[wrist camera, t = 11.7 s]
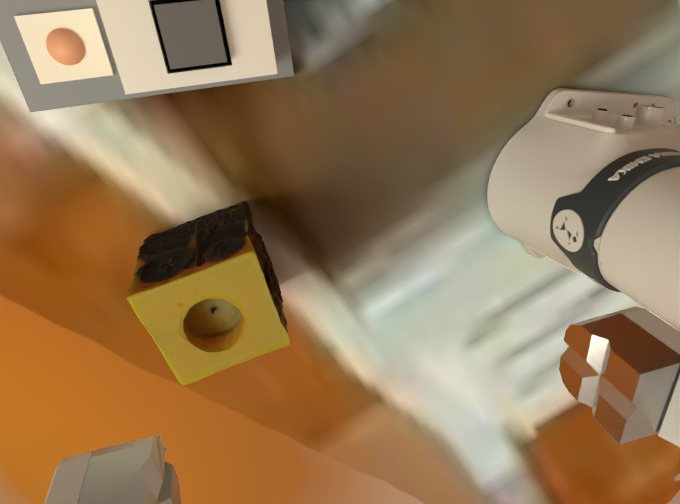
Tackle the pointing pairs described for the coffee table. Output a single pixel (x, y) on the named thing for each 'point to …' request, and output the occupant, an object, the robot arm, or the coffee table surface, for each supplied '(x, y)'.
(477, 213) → the coffee table surface
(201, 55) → the switch
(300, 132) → the coffee table surface
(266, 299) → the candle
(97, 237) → the coffee table surface
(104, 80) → the switch unit
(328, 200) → the coffee table surface
